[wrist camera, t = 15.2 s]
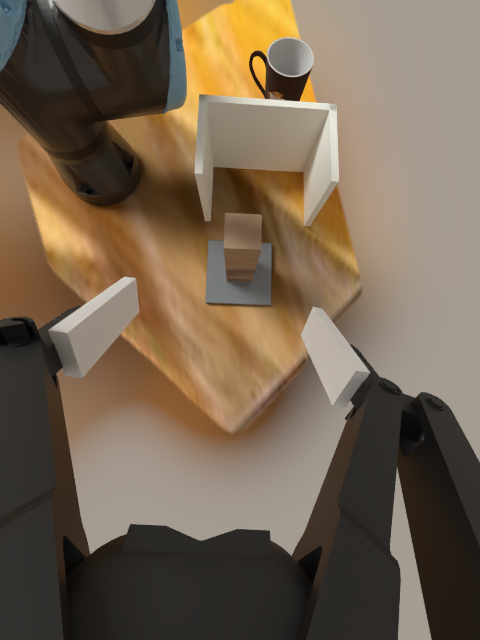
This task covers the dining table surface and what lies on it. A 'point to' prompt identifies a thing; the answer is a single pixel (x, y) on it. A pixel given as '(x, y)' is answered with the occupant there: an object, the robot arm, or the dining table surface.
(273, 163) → the cubby
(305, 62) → the coffee mug
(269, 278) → the coaster
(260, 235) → the walnut block
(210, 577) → the robot arm
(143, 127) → the dining table surface
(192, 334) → the dining table surface
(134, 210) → the dining table surface
